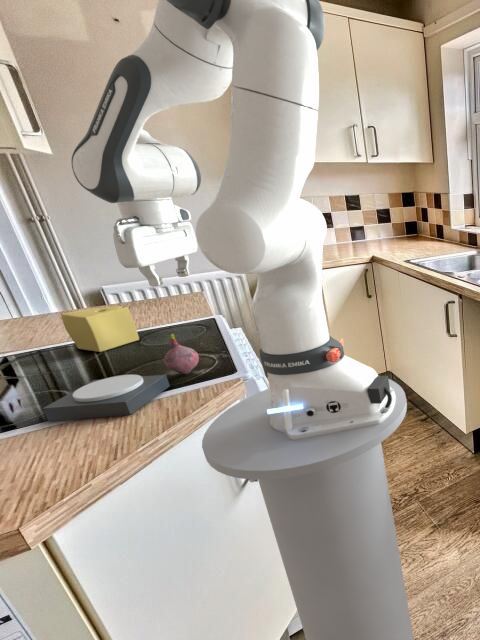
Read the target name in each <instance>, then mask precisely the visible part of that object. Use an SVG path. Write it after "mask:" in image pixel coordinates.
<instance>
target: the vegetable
mask: <svg viewBox="0 0 480 640" xmlns="http://www.w3.org/2000/svg"><path fill="white" fill-rule="evenodd" d="M169 340H170V341H169V342H170V345H171V348H170V349H169V350H168V351H167V352H166V353H165V355H164V357H163V364H164V365H165V366H166V368H167V369H168V370H170V371H173V372H176V373H178V374H182V375H185V374H186V375H187V374H190V373H191V372H192V370H194V368H196V367H197V365H198V363H199V361H200V356H199V353H198V352H197V351H196V350H195V349H193V348H191V347H189V346H185V345H181V344H179V343H178V342H177V340H176V337H175V334H174V333H171V334H170V335H169ZM186 375H185V376H186Z"/></svg>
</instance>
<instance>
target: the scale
mask: <svg viewBox="0 0 480 640" xmlns="http://www.w3.org/2000/svg"><path fill="white" fill-rule="evenodd" d="M170 387H171V385H170V382H169V380H168V376H167V374H156V375H143V376H141V375H139V374H122V375H115V376H110V377H106V378H102V379H92V380H91V381H90V382H88V383H86V384H84V385H83V386H81V387H79V388H77V389H75V390H73V391H71V392H69V393H68V394H66V395H64V396H63V397H61V398H58V399H57V400H55V401H53V402H51V403H49V404H47V405H46V406H44V407H42V412H43V414H44V415H45V418H46V419H47V422H48V423H49V422H59V421H71V420H74V421H75V420H84V419H95V418H96V419H97V418H108V417H119V416H120V417H121V416H131V415H132V414H134V413H135V412H137V411H138V410H139V409H141V408H142V407H143V406H145V405H146V404H147V403H149V402H150V401H151V400H153V399H154V398H156V397H157V396H159V395H160V394H161V393H162V392H164V391H166V390H167V389H168V388H170Z"/></svg>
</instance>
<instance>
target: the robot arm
mask: <svg viewBox="0 0 480 640" xmlns="http://www.w3.org/2000/svg"><path fill="white" fill-rule="evenodd" d="M322 7H323V6H322V5H321V2H320V0H158V2H157V5H156V8H155V13H154V16H153V17H154V18H153V22H152V26H151V28H150V31H149V33H148V35H147V37H146V38H145V39H144V41H143V42H142V43H141V45H139V47H138V48H137V49H136V50H135V51H133V52H132V53H131V54H130V55H129V54H128V55H127V56H125V57H123V58H121V59H120V60H119V61H117V63H116V64H115V66H114V68H113V70H112V72H111V73H110V74H111V75H109V79H108V80H107V83H106V85H105V88H104V89H103V92H102V95H101V97H100V100H99V102H98V105H97V107H96V110H95V112H94V114H93V117H92V120H91V121H90V125H89V127H88V129H87V131H86V134H85V135H84V136H83V138H82V139H81V141H80V142H79V143H78V144H77V145H76V147H75V149H74V151H73V153H72V155H71V168H72V172H73V175H74V178H75V179H76V181H77V183H78V184H79V185H80V186H81V188H83V189H85V190H86V191H87V192H89V193H90V194H92V195H93V196H95V197H97V198H99V199H101V200H102V201H105V202H107V203H110V204H117V206H118V209H119V212H120V215H121V217H120V218H118V219H116V222H115V223H114V225H113V235H112V236H113V237H112V238H113V243H114V249H115V252H116V255H117V259H118V261H119V264H120V265H121V266H122V267H124V268H125V269H136V268H138V270H139V273H141V274H142V275H143V277H145V278H146V279H147V282H148V284H149V286H150V287H152V288H154V287H155V288H156V287H159V286H162V285H164V280H163V278H162V276H159V275H158V274H157V273H156V271H155V270H156V266H155V264H159V263H163V262H166V261H170V260H173V259H174V260H175V262H177V268H176V269H175V272H176V274H177V277H179V278H185V277H188V276H190V274H191V273H190V270H189V265H190V258H189V255H192V254H195V253H197V252H198V248H199V250H200V252H201V253H202V254H203V256H204V257H205V258H206V259H207V261H208V262H210V263H211V265H213V266H214V267H216V268H217V269H219V270H221V271H223V272H227V273H229V274H236V275H237V274H238V275H254V274H257V280H256V281H257V282H256V287H255V292H254V295H253V297H252V299H251V304H250V311H251V315H252V318H253V322H254V323H253V324H254V327H255V330H256V334H257V338H258V342H259V346H260V348H259V350H258V353H259V356H260V357H259V358H260V363H261V367H262V370H263V373H264V376H265V378H266V379H267V381H268V389H270V400H271V409H268V410H267V412H268V414H270V425H271V427H272V428H274V429H275V430H277V431H280V432H283V433H285V434H286V435H287V437H288V438H289V439H290V440H299V439H304V438H309V437H315V436H320V435H325V434H330V433H336V432H341V431H346V430H352V429H357V428H362V427H367V426H373V425H377V424H380V423H382V422H383V421H384V420H386V419H387V418H388V417H389V415H390V414H391V413H392V411H393V409H394V406H395V402H396V396H395V392H394V390H393V389H392V388H391V387H390V386H389V379H390V378H389V376H388V375H379V374H378V372H377V371H376V370H375V369H374V368H373V367H371V366H369V365H368V364H367V365H366V364H364V363H362V362H360V361H358V360H356V359H354V358H352V357H349V356H348V355H346V354H345V351H344V345H345V342H344V338H343V337H341V338H340V340H337V339H335V338H334V337H332V336H331V335H330V332H329V331H330V330H329V327H328V321H327V315H326V311H325V305H324V299H323V298H324V297H323V251H324V243H325V240H326V237H327V233H328V226H327V222H326V219H325V218H326V217H325V216H324V215H323V213H322V211H321V210H320V209H319V208H318V207H317V206H316V205H315V204H314V203H312V202H310V201H308V200H305V199H303V198H301V196H302V191H303V189H304V186H305V184H306V181H307V179H308V176H309V175H310V174H311V172H312V170H313V169H314V166H315V162H316V148H317V134H318V121H319V109H320V108H319V107H320V105H319V104H320V74H319V72H320V71H319V59H318V51H319V49H320V47H321V45H322V44H323V41H324V36H325V29H326V25H325V16H324V10H323V8H322ZM230 85H231V104H230V137H229V139H230V141H229V148H228V154H227V158H226V161H225V165H224V169H223V172H222V175H221V178H220V181H219V185H218V187H217V191H216V192H215V195H214V197H213V199H212V200H211V203H210V204H209V205H208V207H207V208H206V209H204V211H203V212H202V213H201V214H200V215H199V217H198V219H197V222H196V225H195V229H194V226H193V224H192V223H191V222H190V221H191V220H192V214H191V212H190V211H189V210H188V209H186V208H183V207H181V206H178V205H176V204H174V202H173V199H175V198H185V197H189V196H194V195H195V194H196V193H197V192H198V190H199V189H200V187H201V183H202V174H201V170H200V167H199V165H198V163H197V161H196V160H195V158H194V157H193V156H192V155H191V154H190V153H189V152H188V151H187V150H185V149H184V148H182V147H180V146H175V145H172V144H169V143H165V142H162V141H160V140H159V139H155V138H154V137H152V135H151V134H150V133H149V132H148V131H147V130H145V129H144V126H145V124H146V123H147V121H148V120H149V119H150V118H151V117H152V116H154V115H156V114H157V113H160V112H162V111H165V110H169V109H173V108H177V107H182V106H188V105H196V104H197V105H198V104H205V103H210V102H212V101H215V100H217V99H219V98H221V97H222V96H223V95H224V94H225V93H226V92H227V90H228V88H229V87H230Z"/></svg>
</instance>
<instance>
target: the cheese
mask: <svg viewBox="0 0 480 640" xmlns="http://www.w3.org/2000/svg"><path fill="white" fill-rule="evenodd" d="M129 309H130V308H129V307H128V306H122V305H110V306H105V307H91V308H86V309H80V310H73V311H69V312H64V313H62V314H61V320H62V323H63V326H64V328H65V331H66V332H67V334H68V335H69V337H70V338H71V340H72V342H73V343H74V344H75V346H76V348H77V349H78V350H83V351H91V352H98V353H101V352H105V351H108V350H112V349H115V348H118V347H121V346H123V345H128V344H130V343H133V342H137V341H139V340H140V337H139V334H138V331H137V327H136V324H135V322H134V320H133V316H132V314H131V311H130V310H129Z"/></svg>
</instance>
